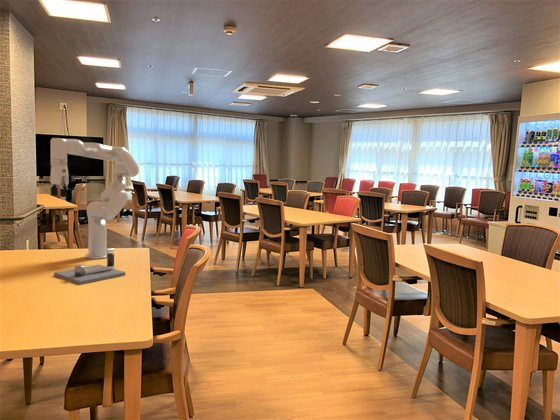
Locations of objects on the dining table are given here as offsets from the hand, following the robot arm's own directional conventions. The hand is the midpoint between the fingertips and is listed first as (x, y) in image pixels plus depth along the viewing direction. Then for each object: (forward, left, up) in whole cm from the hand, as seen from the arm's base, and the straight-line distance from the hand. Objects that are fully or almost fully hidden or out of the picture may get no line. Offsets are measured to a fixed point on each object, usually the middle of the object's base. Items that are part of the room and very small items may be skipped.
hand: (59, 196), depth 222 cm
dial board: (+2, +31, -35) cm, 47 cm away
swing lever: (+1, +33, -33) cm, 47 cm away
